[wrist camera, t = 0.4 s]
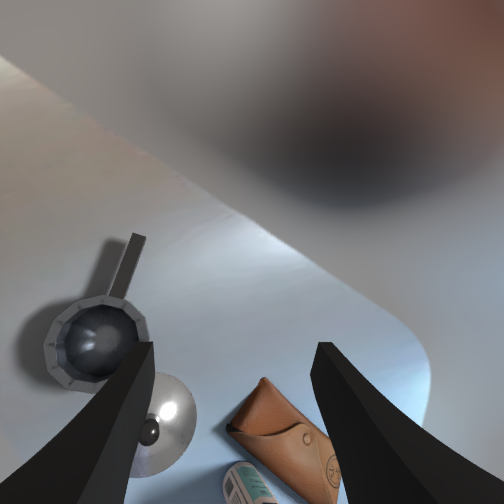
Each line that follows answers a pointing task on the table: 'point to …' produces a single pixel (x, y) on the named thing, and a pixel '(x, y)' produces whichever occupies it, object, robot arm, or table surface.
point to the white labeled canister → (246, 486)
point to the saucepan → (97, 332)
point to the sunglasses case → (287, 444)
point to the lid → (165, 427)
